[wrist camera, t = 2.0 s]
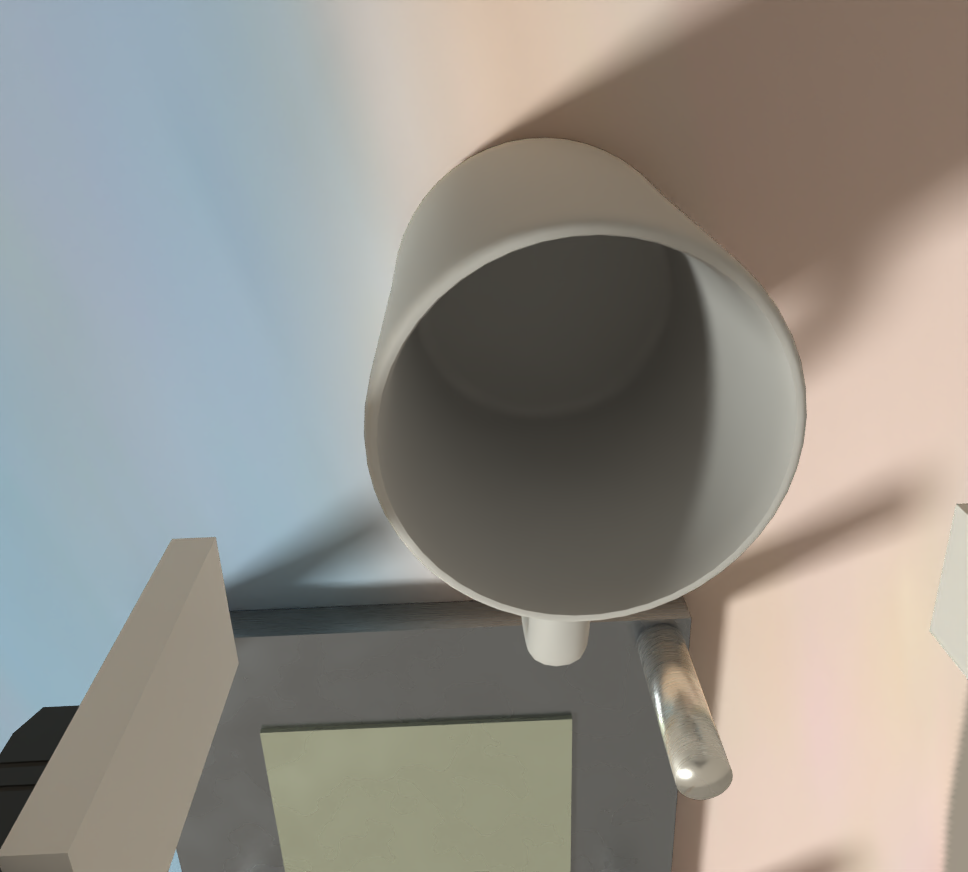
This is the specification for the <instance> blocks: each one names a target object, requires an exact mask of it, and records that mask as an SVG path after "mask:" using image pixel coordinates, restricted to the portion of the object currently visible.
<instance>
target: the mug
mask: <svg viewBox="0 0 968 872" xmlns="http://www.w3.org/2000/svg"><path fill="white" fill-rule="evenodd" d="M806 417H807V413H806V386H805V381H804V375H803V370H802V364H801V360H800V357H799V354H798V351H797V348H796V345H795V342H794V339H793V336H792V334H791V332H790V330H789V328H788V326H787V324H786V323H785V321H784V319H783V317H782V315H781V313H780V311H779V309H778V308H777V306H776V305H775V303H774V302H773V301H772V299H771V298H770V297H769V295H768V294H767V292H766V291H765V290H764V288H763V287H762V286H761V284H760V283H759V282H758V281H757V280H756V279H755V278H754V277H753V276H752V275H751V274H750V273H749V272H748V271H747V270H746V269H745V268H744V267H743V266H742V265H741V264H740V263H739V262H738V261H737V260H736V259H735V258H734V257H733V256H732V255H731V254H729V253H728V252H727V251H726V250H725V249H724V248H722V247H721V246H720V245H719V244H718V243H717V242H716V241H714V240H713V239H712V238H711V237H710V236H709V235H707V234H706V233H705V232H704V231H703V230H702V229H701V228H699V227H698V226H697V225H696V224H695V223H694V222H692V221H691V220H690V219H689V218H688V217H687V216H686V215H684V214H683V213H682V212H681V211H680V210H679V209H677V208H676V207H675V206H674V205H673V204H672V203H671V202H669V201H668V200H667V199H666V198H665V197H664V196H663V195H661V193H660V192H659V191H658V190H657V189H656V188H655V187H654V186H653V185H652V184H651V183H650V182H649V181H648V180H647V179H646V178H645V177H644V176H643V175H642V174H640V173H639V172H638V171H636V170H635V169H634V168H632V167H631V166H630V165H628V164H627V163H626V162H624V161H623V160H621V159H619V158H617V157H615V156H614V155H612V154H610V153H608V152H606V151H604V150H601V149H599V148H596V147H593V146H591V145H588V144H585V143H581V142H576V141H572V140H567V139H557V138H530V139H522V140H517V141H512V142H506V143H503V144H500V145H498V146H495V147H492V148H489V149H486V150H484V151H482V152H480V153H478V154H476V155H474V156H472V157H470V158H468V159H467V160H465V161H464V162H462V163H461V164H459V165H458V166H456V167H455V168H453V169H452V170H451V171H450V172H449V173H447V174H446V175H445V176H444V177H443V178H442V179H441V180H440V181H438V182H437V183H436V185H435V186H434V187H433V188H432V189H431V190H430V192H429V193H428V194H427V195H426V196H425V197H424V199H423V200H422V202H421V203H420V205H419V207H418V208H417V210H416V211H415V213H414V214H413V216H412V218H411V220H410V222H409V224H408V227H407V229H406V231H405V233H404V235H403V238H402V241H401V245H400V248H399V251H398V254H397V259H396V265H395V271H394V276H393V283H392V287H391V291H390V295H389V300H388V304H387V308H386V312H385V316H384V320H383V324H382V328H381V332H380V336H379V340H378V345H377V349H376V353H375V357H374V361H373V365H372V369H371V374H370V379H369V385H368V391H367V396H366V402H365V419H364V440H365V448H366V457H367V465H368V469H369V472H370V476H371V480H372V484H373V487H374V490H375V493H376V495H377V497H378V500H379V502H380V504H381V507H382V509H383V511H384V513H385V515H386V517H387V518H388V520H389V522H390V523H391V525H392V527H393V528H394V530H395V532H396V533H397V535H398V536H399V538H400V539H401V540H402V541H403V543H404V544H405V545H406V546H407V548H408V549H409V550H410V551H411V553H412V554H413V555H414V556H415V557H416V558H417V559H418V560H419V561H420V562H421V563H422V564H423V565H424V566H425V567H426V568H427V569H429V570H430V571H431V572H432V573H433V574H434V575H436V576H437V577H438V578H440V579H441V580H443V581H444V582H445V583H447V584H448V585H449V586H451V587H452V588H454V589H456V590H458V591H459V592H461V593H463V594H465V595H467V596H468V597H470V598H472V599H474V600H476V601H479V602H481V603H483V604H486V605H488V606H491V607H493V608H496V609H498V610H502V611H505V612H509V613H512V614H516V615H520V616H521V617H522V625H523V631H524V636H525V641H526V645H527V649H528V651H529V653H530V654H531V655H532V657H533V658H534V659H535V660H536V661H538V662H540V663H542V664H544V665H551V666H562V665H568V664H571V663H573V662H575V661H577V660H579V659H580V658H581V656H582V654H583V653H584V651H585V649H586V646H587V642H588V636H589V627H590V621H594V620H604V619H610V618H616V617H622V616H627V615H631V614H634V613H638V612H642V611H645V610H649V609H652V608H654V607H657V606H659V605H662V604H665V603H667V602H670V601H672V600H675V599H677V598H679V597H681V596H682V595H684V594H686V593H688V592H690V591H692V590H694V589H696V588H698V587H700V586H701V585H703V584H704V583H705V582H707V581H708V580H710V579H711V578H713V577H714V576H716V575H717V574H719V573H720V572H722V571H723V570H724V569H725V568H726V567H728V566H729V565H730V564H731V563H732V562H733V561H735V560H736V559H737V558H738V557H739V556H741V555H742V553H743V552H744V551H745V550H746V549H747V548H748V547H749V546H750V545H751V544H752V543H753V542H754V541H755V540H756V538H757V537H758V536H759V535H760V534H761V532H762V531H763V530H764V528H765V527H766V526H767V524H768V523H769V522H770V520H771V519H772V517H773V516H774V515H775V513H776V511H777V509H778V508H779V506H780V504H781V502H782V501H783V499H784V497H785V495H786V494H787V492H788V489H789V487H790V484H791V482H792V479H793V477H794V474H795V472H796V469H797V466H798V462H799V458H800V455H801V451H802V447H803V443H804V435H805V426H806Z"/></svg>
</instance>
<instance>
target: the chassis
mask: <svg viewBox="0 0 968 872" xmlns="http://www.w3.org/2000/svg"><path fill="white" fill-rule="evenodd" d="M229 613H230V619H231V624H232V630H233V635H234V641H235V646H236V652H237V657H238V663H239V664H238V667H237V670H236V673H235V676H234V679H233V682H232V685H231V688H230V691H229V693H228V696H227V699H226V702H225V705H224V708H223V711H222V714H221V717H220V720H219V723H218V726H217V729H216V732H215V735H214V738H213V741H212V744H211V747H210V750H209V752H208V755H207V758H206V761H205V764H204V767H203V770H202V773H201V776H200V779H199V782H198V785H197V788H196V791H195V794H194V797H193V800H192V803H191V806H190V809H189V811H188V814H187V817H186V820H185V823H184V826H183V829H182V832H181V835H180V838H179V841H178V844H177V847H176V850H177V853H178V857H179V861H180V865H181V869H182V872H671V867H672V855H673V842H674V829H675V817H676V804H677V792H678V790H679V792H680V793H681V794H683V795H684V796H686V797H688V798H691V799H696V800H705V799H710V798H713V797H716V796H718V795H720V794H721V793H723V792H724V791H725V790H726V789H727V788H728V787H729V786H730V784H731V781H732V777H733V774H732V770H731V767H730V765H729V762H728V759H727V756H726V754H725V751H724V748H723V745H722V743H721V740H720V737H719V734H718V732H717V729H716V726H715V723H714V721H713V718H712V715H711V712H710V710H709V707H708V704H707V701H706V699H705V696H704V693H703V690H702V688H701V685H700V682H699V680H698V677H697V674H696V671H695V669H694V666H693V663H692V660H691V658H690V655H689V641H690V628H691V616H690V613H689V611H688V608H687V606H686V603H685V601H684V598H683V595H682V596H681V597H679V598H677V599H675V600H672V601H670V602H667V603H665V604H662V605H659V606H657V607H654V608H652V609H649V610H645V611H642V612H638V613H634V614H631V615H627V616H622V617H616V618H610V619H604V620H594V621H590V627H589V636H588V642H587V646H586V649H585V651H584V653H583V654H582V656H581V658H580V659H579V660H577V661H575V662H573V663H571V664H568V665H562V666H551V665H544V664H542V663H540V662H538V661H536V660H535V659H534V658H533V657H532V655H531V654H530V653H529V651H528V649H527V645H526V641H525V636H524V631H523V625H522V617H521V616H520V615H516V614H512V613H509V612H505V611H502V610H498V609H496V608H493V607H491V606H488V605H486V604H483V603H481V602H479V601H463V602H440V603H417V604H394V605H370V606H347V607H324V608H300V609H277V610H254V611H231V612H229Z"/></svg>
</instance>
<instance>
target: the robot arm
mask: <svg viewBox="0 0 968 872" xmlns="http://www.w3.org/2000/svg"><path fill="white" fill-rule="evenodd" d="M930 632H931V634H932V635H933V636H934V637H935V639H936V640H937V641H938V643H939V644H940V645H941V646H942V648H943V649H944V650H945V651H946V653H947V654H948V655H949V656H950V658H951V659H952V660H953V661H954V663H955V664H956V665H957V666H958V668H959V669H960V670H961V672H962V673H963V674H964V675H965V677H966V678H967V679H968V503H967V504H956V507H955V512H954V517H953V521H952V526H951V531H950V536H949V540H948V545H947V550H946V555H945V559H944V564H943V569H942V574H941V578H940V583H939V588H938V593H937V597H936V602H935V607H934V612H933V617H932V621H931V626H930ZM238 664H239V663H238V657H237V652H236V646H235V641H234V635H233V630H232V624H231V619H230V613H229V608H228V602H227V597H226V591H225V586H224V580H223V575H222V569H221V563H220V558H219V552H218V547H217V541H216V537H207V538H185V539H172V540H171V542H170V543H169V545H168V547H167V549H166V551H165V553H164V554H163V556H162V558H161V560H160V562H159V563H158V565H157V567H156V569H155V571H154V572H153V574H152V576H151V578H150V580H149V581H148V583H147V585H146V587H145V589H144V590H143V592H142V594H141V596H140V598H139V599H138V601H137V603H136V605H135V607H134V609H133V610H132V612H131V614H130V616H129V618H128V619H127V621H126V623H125V625H124V627H123V628H122V630H121V632H120V634H119V636H118V637H117V639H116V641H115V643H114V645H113V646H112V648H111V650H110V652H109V654H108V655H107V657H106V659H105V661H104V663H103V665H102V666H101V668H100V670H99V672H98V674H97V675H96V677H95V679H94V681H93V683H92V684H91V686H90V688H89V690H88V692H87V693H86V695H85V697H84V699H83V701H82V702H81V704H80V706H61V707H43V708H42V709H41V710H40V711H39V712H37V713H36V714H35V715H34V716H33V717H32V718H30V719H29V720H28V721H27V722H26V723H25V724H23V725H22V726H21V727H20V728H19V729H18V730H16V731H15V732H14V733H13V734H12V736H11V738H10V739H9V741H8V742H7V744H6V746H5V747H4V749H3V750H2V752H1V754H0V872H168V870H169V868H170V865H171V862H172V859H173V856H174V853H175V850H176V847H177V844H178V841H179V838H180V835H181V832H182V829H183V826H184V823H185V820H186V817H187V814H188V811H189V809H190V806H191V803H192V800H193V797H194V794H195V791H196V788H197V785H198V782H199V779H200V776H201V773H202V770H203V767H204V764H205V761H206V758H207V755H208V752H209V750H210V747H211V744H212V741H213V738H214V735H215V732H216V729H217V726H218V723H219V720H220V717H221V714H222V711H223V708H224V705H225V702H226V699H227V696H228V693H229V691H230V688H231V685H232V682H233V679H234V676H235V673H236V670H237V667H238Z"/></svg>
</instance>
